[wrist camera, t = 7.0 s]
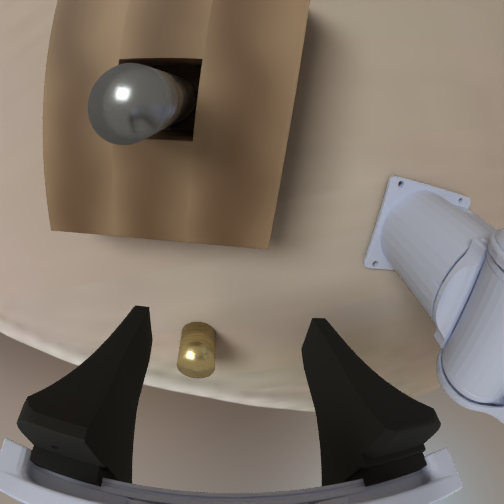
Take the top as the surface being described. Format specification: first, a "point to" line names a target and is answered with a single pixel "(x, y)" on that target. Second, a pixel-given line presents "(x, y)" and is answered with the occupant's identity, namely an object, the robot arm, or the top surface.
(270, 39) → the hole block
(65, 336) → the top surface
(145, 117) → the tall pin
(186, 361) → the short pin
